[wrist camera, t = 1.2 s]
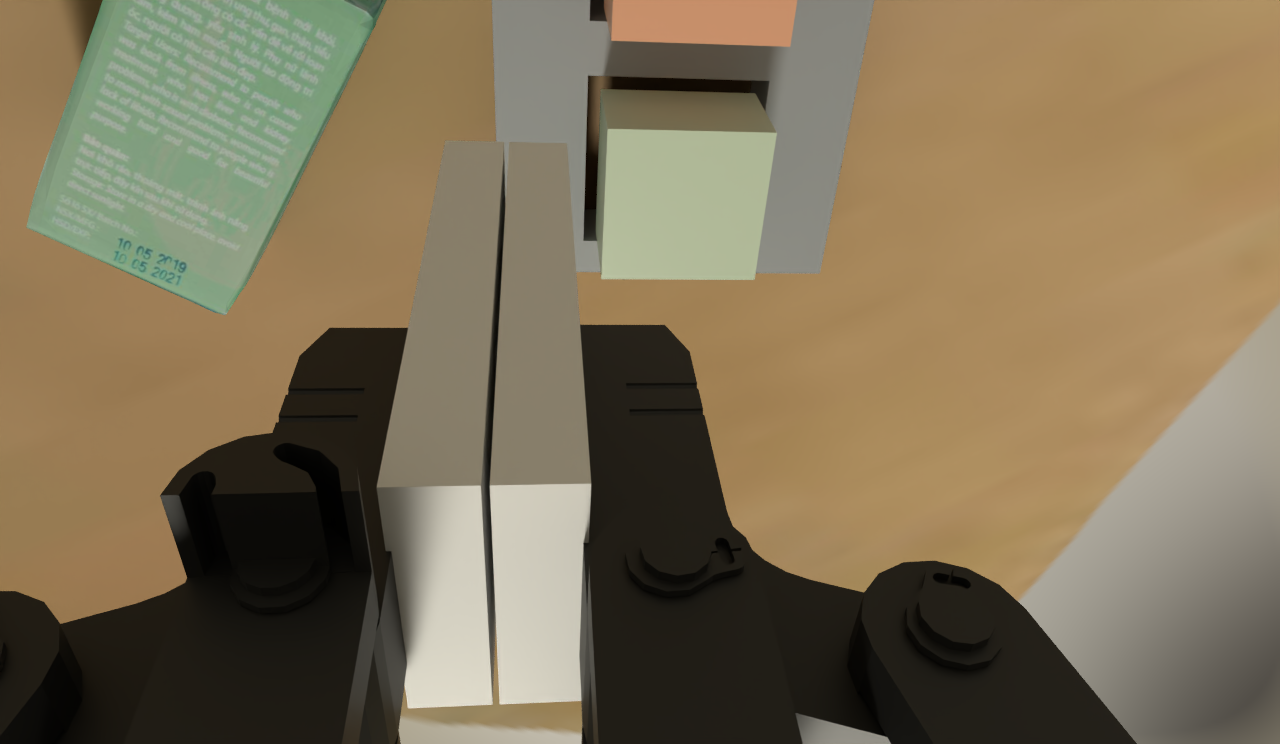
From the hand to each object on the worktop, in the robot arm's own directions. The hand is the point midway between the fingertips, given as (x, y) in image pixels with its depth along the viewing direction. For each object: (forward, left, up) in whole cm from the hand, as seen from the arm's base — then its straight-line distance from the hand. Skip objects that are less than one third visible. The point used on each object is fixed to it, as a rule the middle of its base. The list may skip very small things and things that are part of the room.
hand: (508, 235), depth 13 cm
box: (-11, -6, -27) cm, 29 cm away
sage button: (+6, -9, -23) cm, 26 cm away
